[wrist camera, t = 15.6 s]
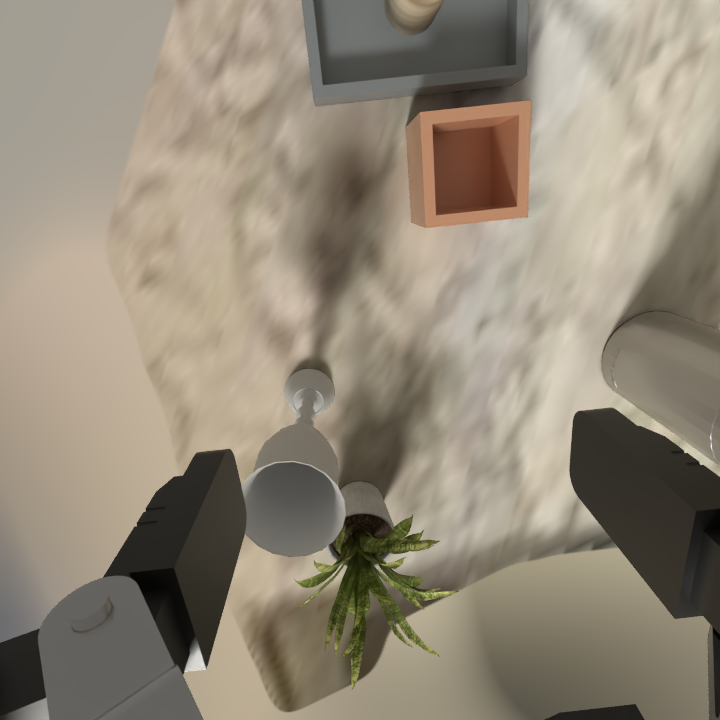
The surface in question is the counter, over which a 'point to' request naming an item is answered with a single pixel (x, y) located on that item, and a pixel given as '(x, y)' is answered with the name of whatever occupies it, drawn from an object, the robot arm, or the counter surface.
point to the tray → (412, 49)
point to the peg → (411, 14)
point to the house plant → (370, 569)
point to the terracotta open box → (469, 164)
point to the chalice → (296, 477)
